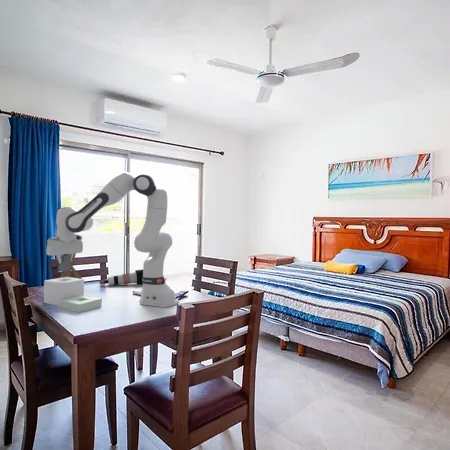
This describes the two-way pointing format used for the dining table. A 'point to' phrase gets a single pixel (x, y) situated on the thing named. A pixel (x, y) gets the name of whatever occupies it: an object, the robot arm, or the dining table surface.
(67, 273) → the photo frame
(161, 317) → the dining table surface
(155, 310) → the dining table surface
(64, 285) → the block
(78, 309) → the plate
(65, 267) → the plug
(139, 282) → the grey banded tapered cylinder
